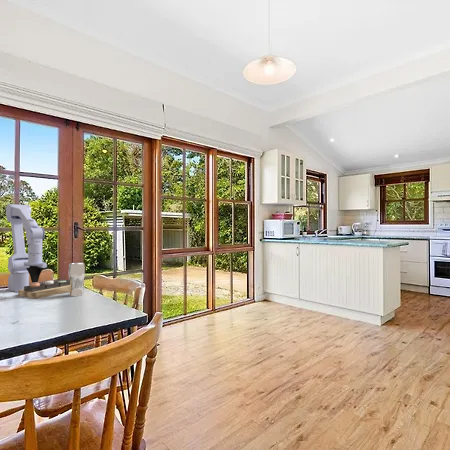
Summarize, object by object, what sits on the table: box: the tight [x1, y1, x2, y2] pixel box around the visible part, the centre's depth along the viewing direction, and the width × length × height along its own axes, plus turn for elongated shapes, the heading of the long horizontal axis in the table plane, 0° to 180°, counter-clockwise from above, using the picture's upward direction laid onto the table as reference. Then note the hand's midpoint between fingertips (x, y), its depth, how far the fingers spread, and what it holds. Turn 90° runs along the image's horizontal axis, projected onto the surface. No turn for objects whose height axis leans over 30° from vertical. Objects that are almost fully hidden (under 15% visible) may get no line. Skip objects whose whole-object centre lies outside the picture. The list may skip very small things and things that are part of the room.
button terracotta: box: [29, 282, 41, 287], centre depth 145 cm, size 4×4×2 cm
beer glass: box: [68, 262, 86, 297], centre depth 147 cm, size 7×7×15 cm
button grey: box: [43, 280, 54, 285], centre depth 152 cm, size 4×4×2 cm
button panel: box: [17, 279, 70, 299], centre depth 151 cm, size 14×21×4 cm, turn 154°
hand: (34, 282), depth 145 cm, fingers closed
